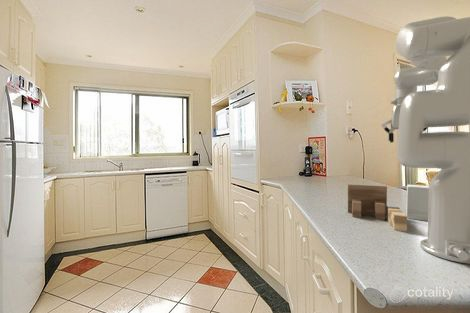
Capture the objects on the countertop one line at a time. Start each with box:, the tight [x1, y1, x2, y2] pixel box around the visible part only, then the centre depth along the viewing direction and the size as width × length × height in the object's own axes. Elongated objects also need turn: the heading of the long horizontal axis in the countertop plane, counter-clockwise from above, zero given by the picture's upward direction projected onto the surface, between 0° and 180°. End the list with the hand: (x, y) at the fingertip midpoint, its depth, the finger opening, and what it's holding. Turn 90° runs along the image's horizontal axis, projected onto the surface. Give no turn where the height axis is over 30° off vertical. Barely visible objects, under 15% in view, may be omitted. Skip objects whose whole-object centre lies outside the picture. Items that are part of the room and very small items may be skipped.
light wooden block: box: [385, 205, 408, 232], centre depth 80 cm, size 12×4×5 cm, turn 155°
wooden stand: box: [347, 183, 388, 221], centre depth 91 cm, size 8×14×12 cm, turn 65°
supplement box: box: [405, 184, 429, 222], centre depth 88 cm, size 7×7×13 cm
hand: (405, 142), depth 97 cm, fingers open, 9 cm apart
